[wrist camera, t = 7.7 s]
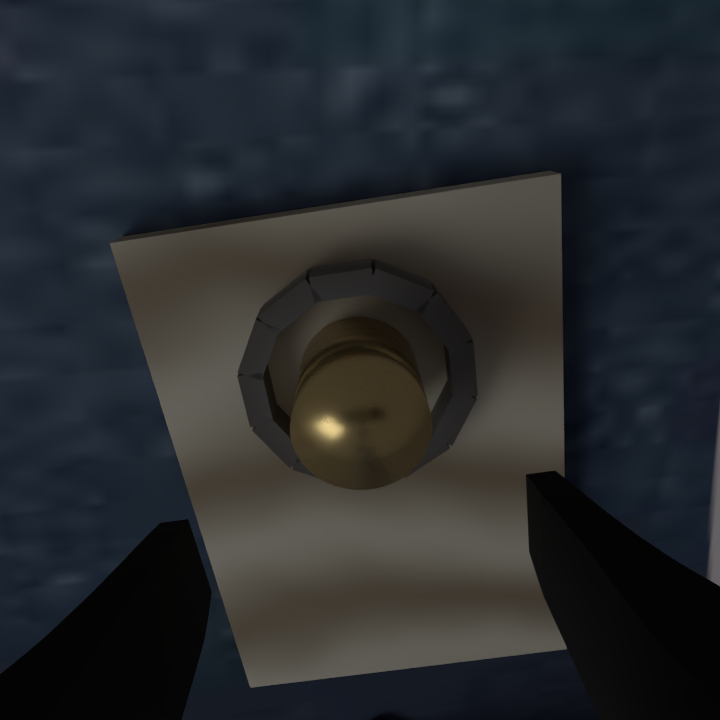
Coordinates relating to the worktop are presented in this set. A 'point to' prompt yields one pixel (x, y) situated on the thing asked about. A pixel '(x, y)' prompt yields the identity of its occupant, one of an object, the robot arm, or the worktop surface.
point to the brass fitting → (360, 406)
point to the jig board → (444, 396)
